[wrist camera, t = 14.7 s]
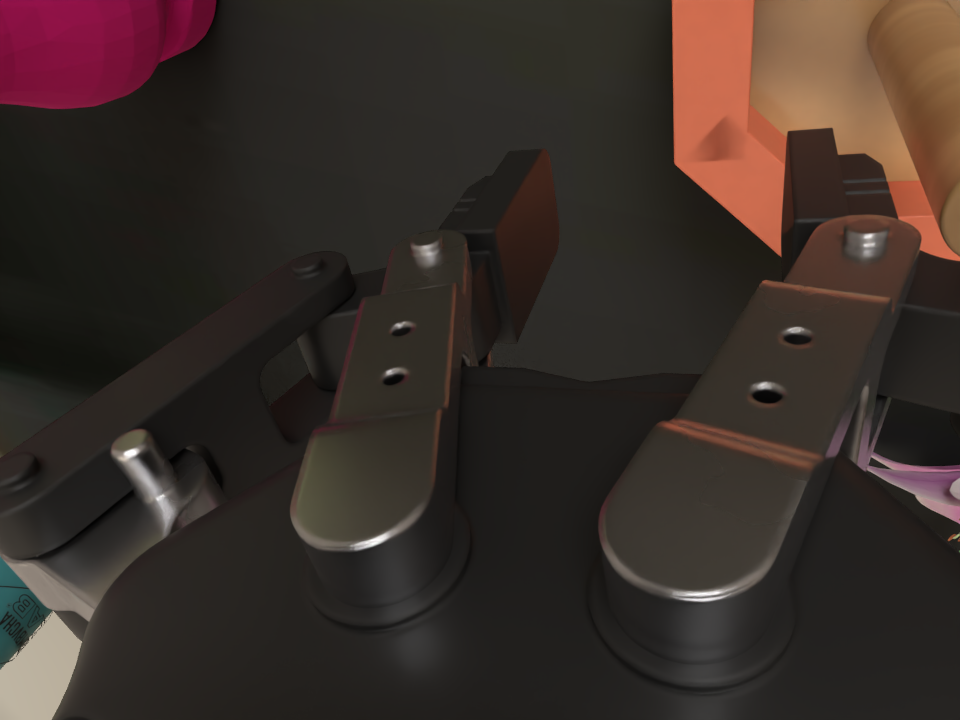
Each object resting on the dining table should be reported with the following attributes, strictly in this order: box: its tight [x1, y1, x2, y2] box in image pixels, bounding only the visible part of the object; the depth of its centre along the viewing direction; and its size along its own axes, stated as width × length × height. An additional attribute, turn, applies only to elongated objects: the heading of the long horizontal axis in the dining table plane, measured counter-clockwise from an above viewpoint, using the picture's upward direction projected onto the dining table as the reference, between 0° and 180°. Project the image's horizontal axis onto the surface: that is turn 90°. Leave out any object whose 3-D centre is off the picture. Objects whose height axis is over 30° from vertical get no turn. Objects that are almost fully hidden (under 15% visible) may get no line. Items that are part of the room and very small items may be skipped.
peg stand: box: [750, 0, 960, 257], centre depth 16 cm, size 9×9×12 cm
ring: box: [672, 0, 960, 261], centre depth 18 cm, size 13×13×2 cm
